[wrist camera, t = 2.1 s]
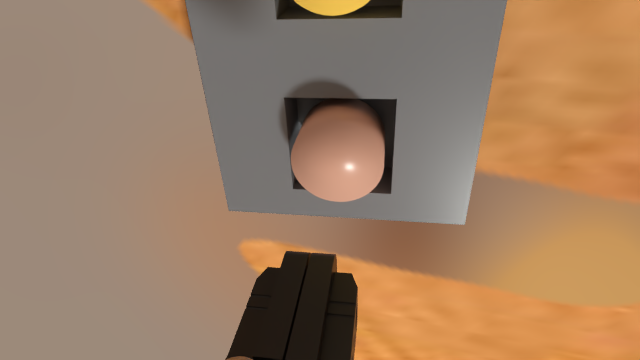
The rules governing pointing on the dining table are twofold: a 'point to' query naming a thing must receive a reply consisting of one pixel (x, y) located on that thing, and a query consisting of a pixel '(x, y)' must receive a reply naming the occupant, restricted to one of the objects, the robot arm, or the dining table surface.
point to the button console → (349, 82)
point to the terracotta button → (339, 150)
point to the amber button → (331, 6)
